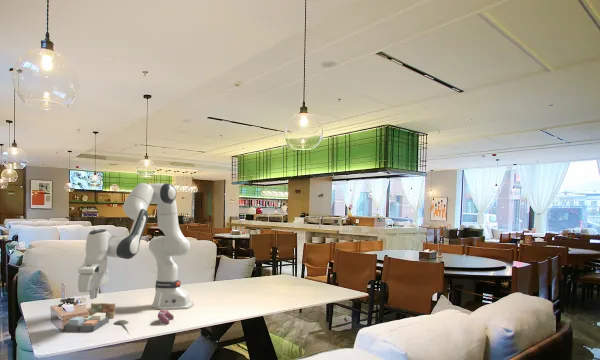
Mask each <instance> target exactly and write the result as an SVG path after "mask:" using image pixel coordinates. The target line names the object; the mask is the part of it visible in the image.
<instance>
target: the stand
mask: <svg viewBox="0 0 600 360" xmlns="http://www.w3.org/2000/svg"><path fill="white" fill-rule="evenodd" d="M96 313H106V317H109V319H115V315H116V314H115V313H116V303H114V302H112V303H111V302H109V303H106V302H105V303H103V302H102V303H101V302H99V303H98V302H91V304H90V313H89V314H90V315H89V316H92V315H94V314H96Z"/></svg>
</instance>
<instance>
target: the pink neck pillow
mask: <svg viewBox="0 0 600 360" xmlns="http://www.w3.org/2000/svg"><path fill="white" fill-rule="evenodd" d="M157 318H158V320H159V321H160V322H161V324H164V325H169V324H170V320H174V318H175V317H174V314H173V313H171V312H170V311H169V309H159V311H158V313H157Z"/></svg>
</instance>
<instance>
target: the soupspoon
mask: <svg viewBox="0 0 600 360" xmlns="http://www.w3.org/2000/svg"><path fill="white" fill-rule="evenodd" d="M127 324H129V321H128V320H125V319H121V320H120V319H119V320H117V321H114V322H113V325H117V326H121V327H123V329H124V330H125V331H126V332H127V334H129V335H130V333H129V330H128V329H127V327H126V325H127Z"/></svg>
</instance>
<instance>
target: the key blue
mask: <svg viewBox="0 0 600 360" xmlns="http://www.w3.org/2000/svg"><path fill="white" fill-rule="evenodd" d="M83 322H84V317H82V316H74V317H71V318H68V323H67V324H68V325H79V324H81V323H83Z"/></svg>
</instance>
